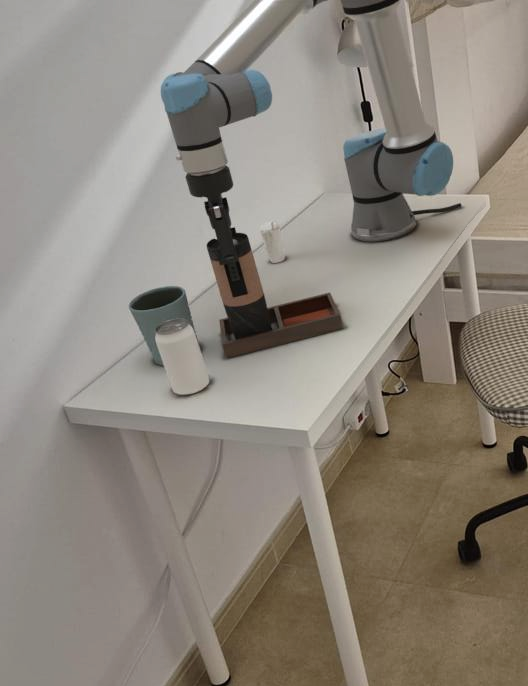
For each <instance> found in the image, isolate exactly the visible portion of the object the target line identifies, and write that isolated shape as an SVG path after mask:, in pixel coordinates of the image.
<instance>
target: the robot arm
mask: <svg viewBox="0 0 528 686" xmlns="http://www.w3.org/2000/svg"><path fill="white" fill-rule="evenodd" d="M327 1H328V0H253V2H251V3H250V5H249V6H247V8H245V10H244V11H243V12H242V13H241V14H239V16H238V17H237V18H236V19H235V20H233V22H232V23H231V24H230V25H229V26H228V27H227V28H226V29H225V30H224V31H223V32H222V33H221V34H220V36H218V37H217V38H216V39H215V40H214V41H213V42H212V43H211V45H209V47H207V49H205V51H203V53H202V54H201V55H200V56H198V57H197V59H196V60H195V61H194V62H193V63H191V64H190V66H189V67H187V68H186V69H185V71H183V72H182V71H177V72H176V73H171V74H169V75H167V76H166V77H165V78H164V79H163V81H162V83H161V85H160V97H161V101H162V104H163V106H164V111H165V113H166V115H167V119H168V122H169V125H170V129H171V133H172V136H173V139H174V142H175V145H176V149H177V151H178V154H177V155H175V158H176V161H178V162H179V161H181V165H182V169H183V172H185V173H186V174H185V181H186V184H187V188H188V191H189V194H190V195H191V196H192V197H194V198H206V199H207V200H205V201H204V203H203V204H204V209H205V213H206V216H207V217H208V219H209V224H210V227H211V229H212V230H214V232H215V237H216V239H217V241H218V244H219V248H220V252H221V256H222V260H221V261H219V264H220V266H221V265H224V268H225V272H226V275H227V279H228V282H229V286H230V289H231V293H232V296H233V298H234V297H239V296H243V295H247V294H248V291H247V288H246V284H245V280H244V277H243V273H242V269H241V266H240V262H239V259H238V256H237V255H236V251H235V247H234V243H233V239H232V235H231V233H237V230H236V227H235V226H233V227H232V219H231V216H230V207H229V202H228V198H227V197H226V196H225V197H223V194H225V193H227V192H229V191H230V190H232V189H233V187H234V181H233V176H232V173H231V169H230V167H229V166H228V165H227V164H228V162H229V161H228V156H227V153H226V150H225V146H224V142H223V139H222V136H221V130H220V128H223V127H225V126H228V125H231V124H234V123H238V122H240V121H243V120H246V119H249V118H252V117H256V116H258V115H260V114H262V113H264V112H266V111H267V110H269V109H270V108H271V105H272V103H273V93H272V89H271V85H270V82H269V80H268V78H267V77H266V76H265V75H264V74H263V73H262V72H261V71H259V70H257V69H250V68H251V66H253V64H254V63H255V62H256V61H257V60H258V59H259V58H260V57H261V56H262V55H263V54H264V52H266V51H267V50H268V48H269V47H270V46H272V44H274V42H275V41H276V40H277V39H278V38H280V36H281V35H282V34H283V32H284V31H286V30H287V28H288V27H290V25H292V24H293V22H294V21H295V20H296V19H297V18H298V16H300V15H306V14H309V13H310V12H312V10H313V9H314V8H315V7H316V6H317V5H319V4H322V3H324V2H327ZM401 2H402V0H340V3H341V7H342V9H343V13H344V15H345V16H346V17H348V18H350V19H351V20H353V22H354V24H355V26H356V31H357V34H358V38H359V41H360V45H361V47H362V52H363V54H364V59H365V61H366V65H367V69H368V72H369V75H370V79H371V83H372V86H373V91H374V93H375V97H376V100H377V104H378V107H379V110H380V111H379V112H380V115H381V118H382V121H383V125H384V128H378V129H373V130H369V131H365V132H361V133H359V134H356V135H353V136H351V137H349V138H347V139H346V140H345V141H344V143H343V145H342V150H343V156H344V157H343V161H344V163H345V169H346V173H347V177H348V183H349V186H350V191H351V195H352V200H353V207H352V208H353V209H352V217H351V218H352V219H351V220H352V221H351V227H350V229H351V234H352V237H353V238H354V239H356V240H358V241H361V242H367V243H370V242H371V243H372V242H373V243H374V242H384V241H389V240H393V239H397V238H400V237H402V236H405V235H407V234H409V233H410V232H412V231H413V230H414V229H415V228H416V225H417V223H416V216H418V215H426V214H427V215H428V214H438V213H439V214H440V213H445V212H446V213H447V212H450V211H453V210H456V209H460V208H462V203H461V202H459V203H456V204H453V205H449V206H445V207H439V208H427V209H420V210H419V209H418V210H412V208H411V207H410V205H409V204H408V203H409V202H407V199H406V197H405V196H404V194H410V195H415V196H418V197H424V196H428V197H431V196H432V197H433V196H436V195H438V194H440V193H441V192H442V191H443V190H444V189H445V188H446V187H447V186H448V184H449V182H450V179H451V177H452V174H453V170H454V155H453V151H452V149H451V147H450V146H449V145H448V144H446V143H445V142H443V141H440V140H439V141H438V138H437V134H436V129H435V126H433V125H431V124H430V123H428V122H426V119H425V116H424V111H423V107H422V104H421V100H420V96H419V92H418V87H417V84H416V80H415V76H414V73H413V68H412V65H411V62H410V58H409V53H408V50H407V45H406V42H405V38H404V34H403V30H402V26H401V23H400V19H399V15H398V11H397V9H398V6H399V5H400V3H401ZM231 254H232V256H228V257H225V256H227V255H231Z"/></svg>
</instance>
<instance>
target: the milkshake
mask: <svg viewBox="0 0 528 686" xmlns="http://www.w3.org/2000/svg"><path fill="white" fill-rule="evenodd" d="M258 229H259V232H260V236H261V238H262V240H263V243H264V246H265V250H266V252H267V256H268V257H269V260H270V262H271V264H278V263H282V262H283V261H285V259H286V257H285V249H284V245H283V239H282V233H281V226H280V224H279V223H278V222H277V221H272V220H270V221H269V220H268V221H266V222H264V223H262V224H260V226H259V228H258Z"/></svg>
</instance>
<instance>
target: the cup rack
mask: <svg viewBox="0 0 528 686" xmlns="http://www.w3.org/2000/svg"><path fill="white" fill-rule="evenodd" d="M267 309H268V313H269V317H270V321H271V324H272V323H276V322H277V324H278V328H276V329H272V330H271V331H267V332H263V333H259V334H255V335H251V336H247V337H243V338H239V339H235V338H234V339H231V340H229V334H233V332H232V329H231V326H230V323H229V320H228V317H224V318H221V319H220V318H219V320H218V322H219V328H220V336H221V343H222V347H223V351H224V354H225V357H226V359H231V358H235V357H238V356H242V355H245V354H250V353H254V352H257V351H262V350H265V349H269V348H273V347H274V348H275V347H278V346H281V345H282V346H283V345H285V344H289V343H293V342H296V341H300V340H304V339H307V338H308V339H309V338H314V337H316V336H321V335H325V334H328V333H332V332H335V331H339V330H340V331H341V330H344V326H343V321H342V317H341V314H340V312H339V309H338V307H337V305H336V302H335V300H334V298H333V295H332V293H331V292H330V291H329V292H326V293H322V294H318V295H313V296H309V297H306V298H305V297H304V298H302V299H297V300H294V301H289V302H285V303H280V304H277V305H274V306H269V307H267Z"/></svg>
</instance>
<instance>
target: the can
mask: <svg viewBox="0 0 528 686" xmlns="http://www.w3.org/2000/svg"><path fill="white" fill-rule="evenodd" d="M188 323H189V322H188V320H186V319H182V318H178V319H172V320H168V321H165V322H163V323H161V324H159V325H158V326H157V327H156V328H155V332H156V336H155V340H156V344H157V347H158V350H159V353H160V356H161V358H162V361H163V364H164V366H163V367H164V370H165V372H166V375H167V378H168V381H169V384H170V387H171V389H172V392H173V393H175V394H176V395H178V396H188V395H189V396H191V395H194V394H197V393H200V392H201V391H203V390H204V389H206V388H207V387H208V386H209V383H210V377H209V376H210V375H209V373H208V369H207V367H206V363H205V360H204V357H203V353H202V351H201V347H200V348H199V346H200V344H199V345H198V342H199V341H198V342H197V339H198V337H197V338H196V335H197V334H196V335H195V332H194V330H193V328H192V327H191V326H190V325H189V324H188Z"/></svg>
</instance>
